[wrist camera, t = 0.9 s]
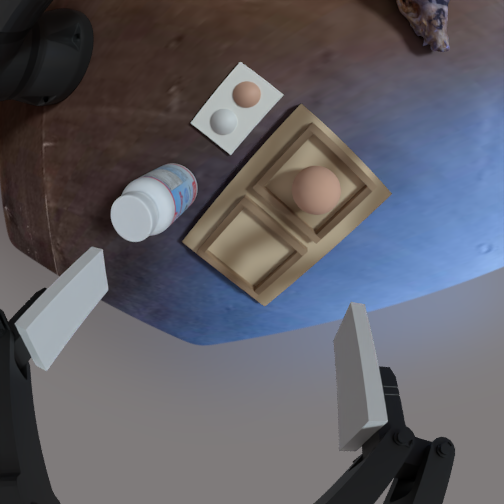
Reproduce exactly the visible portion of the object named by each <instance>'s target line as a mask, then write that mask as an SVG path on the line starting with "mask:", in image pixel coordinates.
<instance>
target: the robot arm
mask: <svg viewBox="0 0 504 504" xmlns="http://www.w3.org/2000/svg"><path fill="white" fill-rule="evenodd" d="M52 1H53V0H0V101H4V100H10V99H13V100H16V101H20V102H24V103H27V104H31V105H35V106H45V105H51V104H56V103H58V102H60V101H62V100H64V99H65V98H66V97H68V96H69V95H70V94H71V93H72V92H73V91H74V90H75V88H76V87H77V86H78V84H79V83H80V81H81V80H82V78H83V76H84V74H85V72H86V70H87V67H88V65H89V62H90V58H91V55H92V49H93V30H92V26H91V23H90V21H89V19H88V18H87V17H86V16H85V15H84V14H83V13H81V12H79V11H76V10H71V9H56V10H51V11H47V12H44V11H45V10H46V8H47V7H48V6H49V5H50V3H51V2H52ZM107 291H108V284H107V278H106V271H105V264H104V257H103V249H99V248H95V247H91V248H90V249H89V250H88V251H87V252H85V253H84V254H83V255H82V256H81V257H80V258H79V259H78V260H77V261H76V262H75V263H73V264H72V265H71V266H70V267H69V268H68V269H67V270H66V271H65V272H64V273H63V274H62V275H61V276H60V277H59V278H58V279H57V280H56V281H55V282H54V283H53V284H52V285H51V286H50V287H49V288H48V289H47V288H43V289H41V290H40V291H38V292H36V293H35V294H34V295H33V296H32V297H31V298H30V300H28V301H27V302H26V304H25V305H24V306H23V307H22V308H21V309H20V310H19V311H18V312H17V313H16V314H15V315H14V316H13V317H12V318H11V319H10V321H9V322H8V321H7V318H6V316H5V314H4V312H3V311H2V310H1V309H0V504H60V502H59V500H58V499H57V498H56V496H55V495H54V493H53V491H52V488H51V485H50V481H49V478H48V474H47V470H46V467H45V463H44V458H43V454H42V450H41V445H40V440H39V436H38V430H37V424H36V418H35V411H34V404H33V395H32V386H31V373H30V365H29V362H28V361H29V359H30V358H32V360H33V361H34V363H35V365H36V366H38V367H40V368H42V369H43V370H46V371H47V370H48V368H49V367H50V366H51V364H52V363H53V361H54V360H55V358H56V357H57V356H58V354H59V353H60V352H61V350H62V349H63V347H64V346H65V345H66V343H67V342H68V341H69V339H70V338H71V337H72V335H73V334H74V333H75V331H76V330H77V329H78V327H79V326H80V325H81V324H82V322H83V321H84V319H85V318H86V317H87V316H88V315H89V313H90V312H91V311H92V310H93V308H94V307H95V306H96V304H97V303H98V302H99V301H100V300H101V298H102V297H103V296H104V295H105V293H106V292H107ZM334 352H335V365H336V379H337V397H338V398H337V399H338V423H339V451H357V450H358V449H359V448H360V447H361V446H362V454H361V455H360V456H359V457H358V458H357V459H355V460H354V461H353V464H352V465H351V466H350V468H349V469H348V470H347V471H346V472H345V473H344V474H343V475H342V477H340V478H339V479H338V481H337V482H336V483H335V484H334V485H333V486H332V487H331V488H330V489H329V490H328V491H327V492H326V493H325V494H324V495H322V496H321V498H319V499H318V500H317V501H316V502H315V503H314V504H374V503H375V502H376V500H377V499H378V498H379V497H380V495H381V494H382V493H383V491H384V490H385V489H386V488H387V486H388V485H389V483H390V482H391V481H392V479H393V478H394V480H393V482H392V485H391V487H390V490H389V492H388V494H387V496H386V498H385V501H384V503H383V504H442V503H443V499H444V496H445V493H446V489H447V486H448V482H449V478H450V474H451V470H452V466H453V461H454V456H455V448H454V445H453V443H452V442H451V441H450V440H449V439H447V438H445V437H439V438H436V439H435V440H434V441H433V442H430V441H427V440H423V439H420V438H417V437H415V436H414V433H413V432H412V431H411V430H410V429H409V428H408V427H406V425H405V421H404V415H403V410H402V405H401V400H400V396H399V390H398V388H397V387H398V385H397V381H396V377H395V375H394V373H393V372H392V370H391V369H390V367H379V366H378V361H377V356H376V351H375V346H374V342H373V337H372V333H371V328H370V324H369V320H368V316H367V312H366V308H365V304H360V303H354V302H351V303H350V305H349V307H348V309H347V312H346V314H345V316H344V319H343V321H342V323H341V325H340V328H339V330H338V332H337V334H336V336H335V338H334Z"/></svg>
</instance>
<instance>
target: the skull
mask: <svg viewBox="0 0 504 504" xmlns="http://www.w3.org/2000/svg"><path fill="white" fill-rule="evenodd" d="M409 1H410V3H409ZM396 2H397V5H398V8H399V10H400V12H401V13H402V14H403V15H404V16H405V17H406V18H407V20H408V21H409V22H410V26H412V27H413V29H414V32H415V33H416V34H417V35H418V36H422V37H423V38H424V43H423V46H425V45H428V44H430V45H431V49H432V50H433V51H434V52H435V51H440V52H445V51H449V49H450V48H449V44H448V42H449V37H448V35H447V21H448V3H449V0H405V2H406V3H404V2H403V1H402V0H396Z"/></svg>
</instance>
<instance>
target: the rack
mask: <svg viewBox="0 0 504 504" xmlns="http://www.w3.org/2000/svg"><path fill="white" fill-rule="evenodd" d="M310 166H322V167H325V168H327V169H329V170H331V171H332V172H333V173H334V174H335V175H336V177H337V178H338V180H339V183H340V186H341V195H340V199H339V201H338V203H337V205H336V206H335V207H334V208H333V209H332V210H331V211H329V212H327V213H325V214H321V215H313V214H309V213H306V212H304V211H303V210H302V209H300V208H299V207H298V206H297V204H296V203H295V201H294V199H293V195H292V184H293V181H294V179H295V177H296V175H297V174H298V173H299V172H300V171H301V170H303V169H305V168H307V167H310ZM391 194H392V193H391V192H390V191H389V190H388V189H387V188H386V187H385V185H384V184H383V183H382V182H381V181H380V180H379V179H378V178H377V177H376V175H375V174H374V173H373V172H372V171H371V170H370V169H369V168H368V167H367V166H366V165H365V164H364V163H363V162H362V161H361V160H360V159H359V157H358V156H357V155H356V154H355V153H354V152H353V151H352V150H351V149H350V148H349V147H348V146H347V145H346V144H345V143H344V142H343V141H342V140H340V139H339V138H338V137H337V136H336V135H335V134H334V133H333V132H332V131H331V130H330V129H329V128H328V127H327V126H326V125H325V124H324V123H322V122H321V121H320V120H319V119H318V118H317V117H316V116H315V115H314V114H312V113H311V112H310V111H309V110H308V109H307V108H306V107H305V106H303V105H302V104H300V105H299V106H298V107H297V108H296V110H295V111H294V112H293V113H292V114H291V115H290V116H289V117H288V118H287V119H286V120H285V121H284V122H283V123H282V125H281V126H280V127H279V128H278V129H277V130H276V131H275V132H274V133H273V134H272V135H271V137H270V138H269V139H268V140H267V141H266V142H265V143H264V144H263V145H262V147H261V148H260V149H259V150H258V151H257V152H256V153H255V154H254V156H253V157H252V158H251V159H250V160H249V161H248V162H247V164H246V165H245V166H244V167H243V168H242V169H241V171H240V172H239V173H238V174H237V175H236V176H235V178H234V179H233V180H232V181H231V182H230V183H229V185H228V186H227V187H226V188H225V189H224V191H223V192H222V193H221V194H220V195H219V197H218V198H217V199H216V200H215V201H214V203H213V204H212V205H211V206H210V207H209V209H208V210H207V211H206V212H205V214H204V215H203V216H202V217H201V218H200V220H199V221H198V222H197V223H196V225H195V226H194V227H193V228H192V230H191V231H190V232H189V234H188V235H187V236H186V237H185V239H184V240H183V241H182V242H183V243H184V244H185V245H187V246H188V247H189V248H190V249H192V250H193V251H194V252H195V253H197V254H198V255H199V256H200V257H202V258H203V259H204V260H205V261H207V262H208V263H209V264H210V265H212V266H213V267H214V268H215V269H217V270H218V271H219V272H221V273H222V274H223V275H224V276H226V277H227V278H228V279H230V280H231V281H232V282H233V283H235V284H236V285H237V286H239V287H240V288H241V289H242V290H244V291H245V292H246V293H248V294H249V295H250V296H252V297H253V298H254V299H255V300H257V301H258V302H259V303H261V304H262V305H263V306H266V305H267V304H268V303H270V302H271V301H272V300H273V299H274V298H276V297H277V296H278V295H279V294H280V293H282V292H283V291H284V290H285V289H286V288H287V287H289V286H290V285H291V284H292V283H293V282H295V281H296V280H297V279H298V278H299V277H300V276H302V275H303V274H304V273H305V272H306V271H307V270H309V269H310V268H311V267H312V266H313V265H314V264H315V263H317V262H318V261H319V260H320V259H321V258H322V257H323V256H325V255H326V254H327V253H328V252H329V251H330V250H331V249H333V248H334V247H335V246H336V245H337V244H338V243H339V242H340V241H341V240H343V239H344V238H345V237H346V236H347V235H348V234H349V233H350V232H351V231H353V230H354V229H355V228H356V227H357V226H358V225H359V224H360V223H361V222H362V221H363V220H365V219H366V218H367V217H368V216H369V215H370V214H371V213H372V212H373V211H374V210H375V209H376V208H377V207H379V206H380V205H381V204H382V203H383V202H384V201H385V200H386V199H387V198H388V197H389V196H390V195H391Z"/></svg>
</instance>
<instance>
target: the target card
mask: <svg viewBox="0 0 504 504" xmlns="http://www.w3.org/2000/svg"><path fill="white" fill-rule="evenodd" d="M282 96H283V94H282V93H281V92H279V91H278V90H277V89H276V88H274V87H273V86H272V85H271V84H269V83H268V82H267V81H266V80H264V79H263V78H262V77H260V76H259V75H258V74H256V73H255V72H254V71H252V70H251V69H250V68H248V67H247V66H246V65H244V64H243V63H241V62H240V63H239V64H238V65H237V66H236V67H235V68H234V70H233V71H232V72H231V73H230V74H229V75H228V76H227V78H226V79H225V80H224V81H223V82H222V84H221V85H220V86H219V87H218V88H217V90H216V91H215V92H214V93H213V95H212V96H211V97H210V98H209V100H208V101H207V102H206V103H205V105H204V106H203V107H202V108H201V110H200V111H199V112H198V114H197V115H196V116H195V118H194V119H193V120H192V122H191V124H192V125H194V126H195V127H196V128H197V129H199V130H200V131H201V132H203V133H204V134H205V135H206V136H208V137H209V138H210V139H211V140H213V141H214V142H215V143H216V144H218V145H219V146H220V147H221V148H223V149H224V150H225V151H226V152H227V153H229V154H230V155H231V154H232V153H233V152H234V151H235V150H236V148H237V147H238V146H239V145H240V144H241V142H242V141H243V140H244V139H245V138H246V137H247V135H248V134H249V133H250V132H251V131H252V130H253V129H254V127H255V126H256V125H257V124H258V123H259V122H260V121H261V120H262V118H263V117H264V116H265V115H266V114H267V113H268V112H269V111H270V109H271V108H272V107H273V106H274V105H275V104H276V103H277V102H278V101H279V100H280V99H281V97H282Z"/></svg>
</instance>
